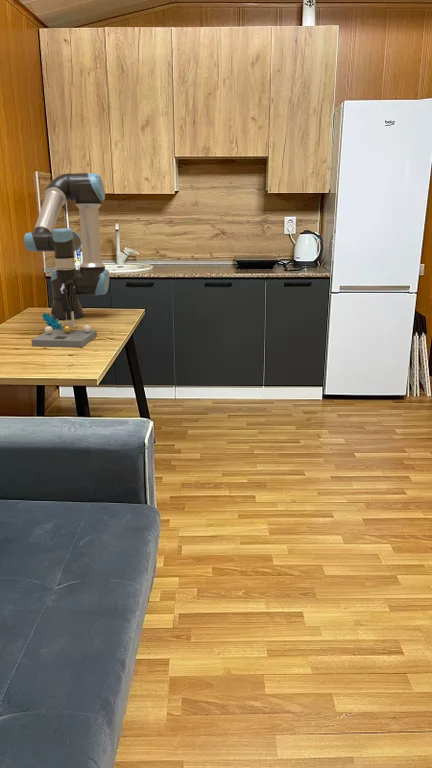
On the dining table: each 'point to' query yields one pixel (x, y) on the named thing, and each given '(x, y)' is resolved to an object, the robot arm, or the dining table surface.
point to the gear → (52, 321)
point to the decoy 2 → (87, 328)
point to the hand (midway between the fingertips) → (70, 327)
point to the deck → (64, 338)
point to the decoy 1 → (48, 330)
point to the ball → (67, 329)
